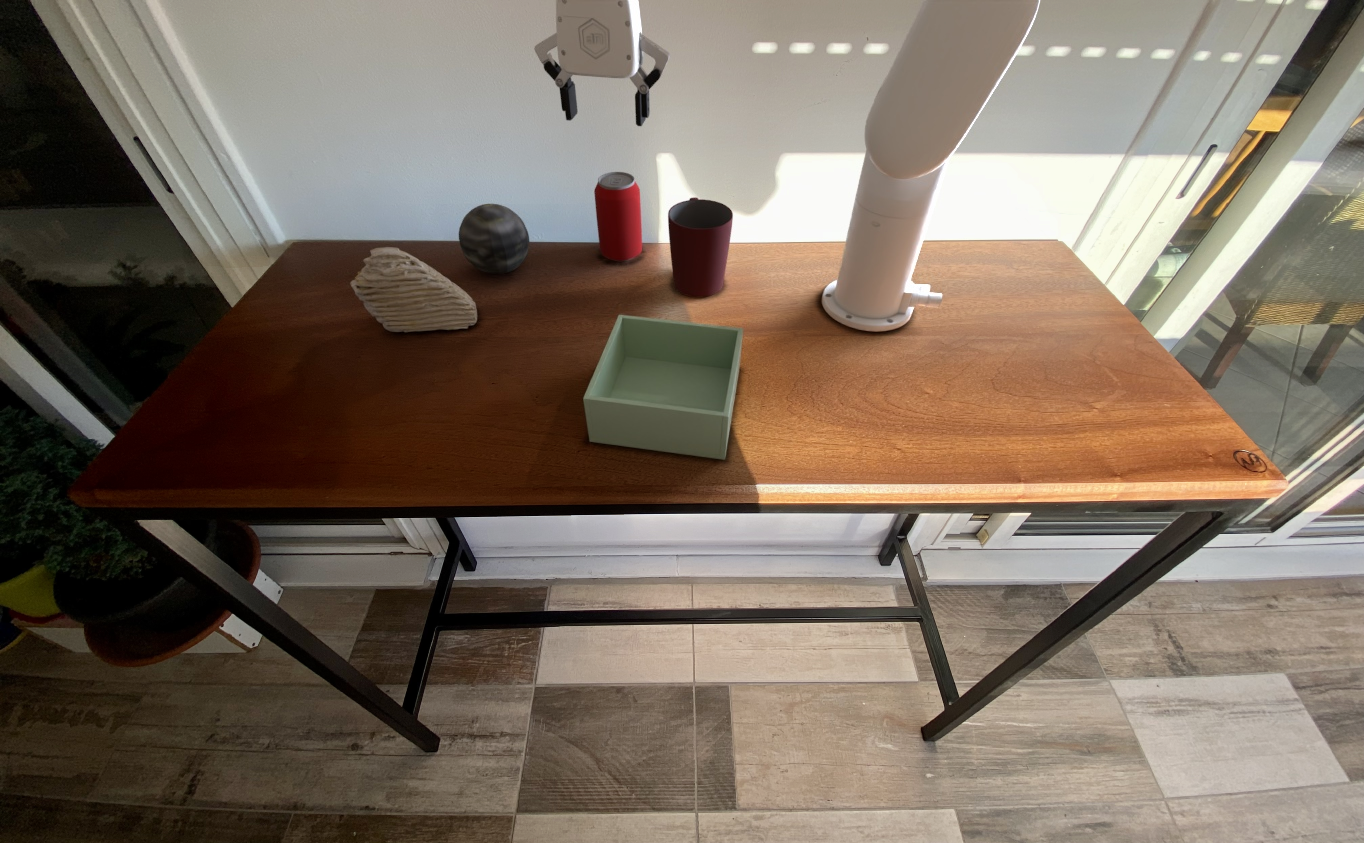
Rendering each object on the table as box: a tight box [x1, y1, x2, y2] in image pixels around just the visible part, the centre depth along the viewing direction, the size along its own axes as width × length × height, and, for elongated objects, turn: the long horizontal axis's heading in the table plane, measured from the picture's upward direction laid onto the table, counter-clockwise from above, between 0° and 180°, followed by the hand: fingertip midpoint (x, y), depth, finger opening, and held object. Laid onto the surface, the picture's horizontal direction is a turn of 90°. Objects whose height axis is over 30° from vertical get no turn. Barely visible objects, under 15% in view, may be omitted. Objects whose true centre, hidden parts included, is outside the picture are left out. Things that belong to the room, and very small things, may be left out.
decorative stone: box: [458, 203, 530, 275], centre depth 88 cm, size 10×10×10 cm
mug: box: [667, 197, 734, 298], centre depth 86 cm, size 12×9×11 cm
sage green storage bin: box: [582, 314, 744, 461], centre depth 68 cm, size 15×15×7 cm
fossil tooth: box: [349, 246, 478, 333], centre depth 78 cm, size 12×6×15 cm
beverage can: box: [593, 171, 643, 262], centre depth 91 cm, size 7×7×12 cm
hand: (606, 120), depth 81 cm, fingers open, 9 cm apart
